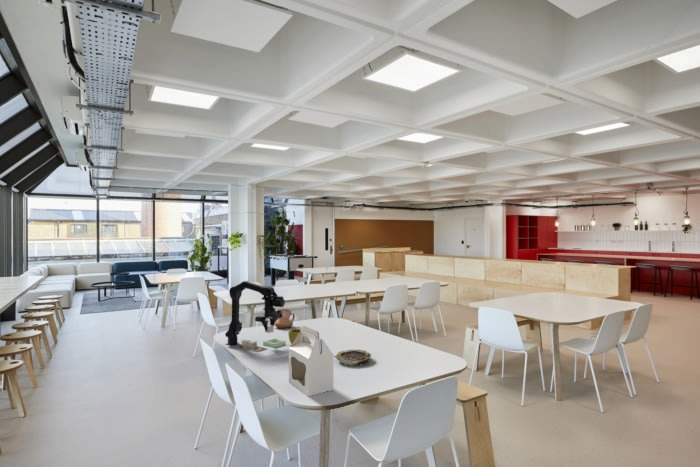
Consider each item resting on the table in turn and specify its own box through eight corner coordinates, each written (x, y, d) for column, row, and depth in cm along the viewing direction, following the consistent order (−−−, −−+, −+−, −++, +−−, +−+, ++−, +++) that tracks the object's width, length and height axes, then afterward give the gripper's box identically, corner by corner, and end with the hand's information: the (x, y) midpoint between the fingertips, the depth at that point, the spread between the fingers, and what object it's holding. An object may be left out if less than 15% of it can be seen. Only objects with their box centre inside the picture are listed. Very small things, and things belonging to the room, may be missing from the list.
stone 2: (264, 331, 258) (264, 325, 258) (270, 330, 260) (270, 324, 260) (268, 332, 255) (268, 326, 255) (273, 331, 257) (273, 325, 258)
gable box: (288, 382, 197) (288, 326, 197) (311, 377, 204) (311, 323, 205) (309, 397, 178) (308, 335, 179) (333, 390, 186) (333, 331, 186)
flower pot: (300, 346, 262) (300, 332, 262) (288, 345, 264) (288, 332, 264) (304, 342, 271) (304, 329, 271) (292, 342, 273) (292, 329, 273)
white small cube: (247, 348, 255) (247, 342, 255) (252, 346, 259) (252, 340, 259) (252, 349, 253) (252, 343, 253) (256, 347, 257) (256, 341, 257)
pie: (386, 361, 230) (386, 353, 230) (353, 374, 211) (353, 364, 211) (352, 352, 250) (352, 344, 250) (319, 362, 231) (319, 353, 231)
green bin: (263, 345, 264) (263, 341, 264) (273, 342, 271) (273, 338, 271) (274, 348, 257) (274, 343, 257) (285, 345, 264) (285, 340, 264)
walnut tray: (238, 347, 259) (238, 346, 259) (247, 345, 265) (247, 343, 265) (257, 352, 247) (257, 351, 247) (266, 350, 253) (266, 348, 253)
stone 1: (241, 346, 260) (241, 340, 260) (246, 345, 263) (246, 339, 263) (245, 347, 257) (245, 341, 257) (250, 346, 260) (250, 340, 260)
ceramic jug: (276, 330, 306) (277, 312, 307) (270, 326, 319) (271, 309, 319) (298, 328, 316) (298, 310, 316) (291, 324, 328) (291, 307, 328)
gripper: (265, 309, 246) (265, 334, 245) (287, 305, 260) (288, 329, 260) (254, 308, 253) (254, 332, 252) (276, 304, 267) (277, 326, 267)
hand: (269, 330), depth 258 cm, fingers closed on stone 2, 4 cm apart
